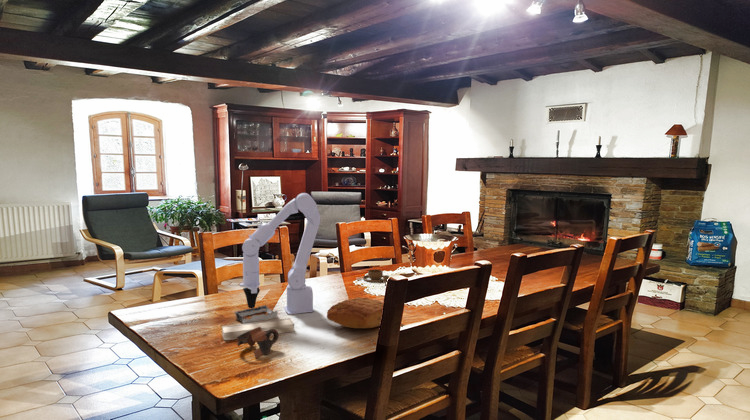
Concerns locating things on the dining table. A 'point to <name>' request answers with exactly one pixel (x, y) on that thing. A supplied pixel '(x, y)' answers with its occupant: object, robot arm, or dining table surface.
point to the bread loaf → (357, 313)
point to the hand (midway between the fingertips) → (251, 307)
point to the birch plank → (236, 330)
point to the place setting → (375, 276)
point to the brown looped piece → (259, 340)
